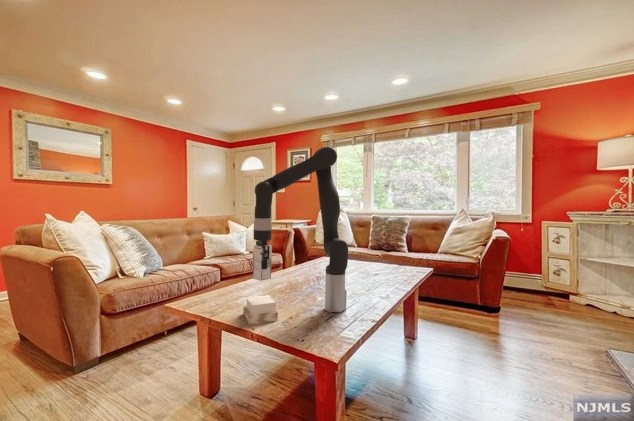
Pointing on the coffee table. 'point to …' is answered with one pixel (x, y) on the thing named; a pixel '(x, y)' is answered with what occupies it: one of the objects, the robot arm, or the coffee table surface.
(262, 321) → the ash base block
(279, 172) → the robot arm
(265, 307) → the off-white top block
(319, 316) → the coffee table surface
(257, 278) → the syrup box
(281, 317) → the coffee table surface
